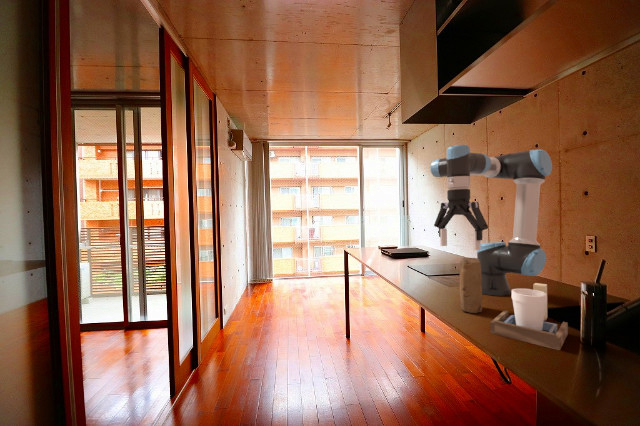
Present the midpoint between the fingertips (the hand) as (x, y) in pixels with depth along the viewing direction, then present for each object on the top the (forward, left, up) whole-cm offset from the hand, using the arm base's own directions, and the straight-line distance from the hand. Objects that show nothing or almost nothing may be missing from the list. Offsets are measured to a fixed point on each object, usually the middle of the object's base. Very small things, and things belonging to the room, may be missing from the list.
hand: (459, 247), depth 112 cm
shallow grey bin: (-8, +20, -26) cm, 33 cm away
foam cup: (-8, +19, -26) cm, 33 cm away
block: (-11, -5, -26) cm, 28 cm away
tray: (-14, +17, -25) cm, 34 cm away
